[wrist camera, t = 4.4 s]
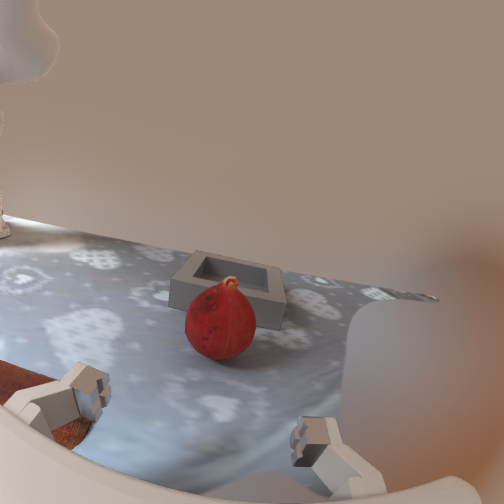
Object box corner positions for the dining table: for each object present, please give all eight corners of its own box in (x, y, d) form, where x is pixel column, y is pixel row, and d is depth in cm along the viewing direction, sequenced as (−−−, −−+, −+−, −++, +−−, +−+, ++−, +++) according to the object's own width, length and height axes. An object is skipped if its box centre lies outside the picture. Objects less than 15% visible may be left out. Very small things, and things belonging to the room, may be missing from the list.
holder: (279, 330, 31) (287, 303, 30) (168, 306, 30) (171, 278, 29) (273, 288, 43) (279, 267, 42) (192, 271, 43) (196, 250, 42)
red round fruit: (199, 385, 19) (214, 295, 17) (171, 344, 24) (180, 263, 22) (258, 370, 23) (281, 289, 21) (225, 336, 27) (240, 262, 25)
